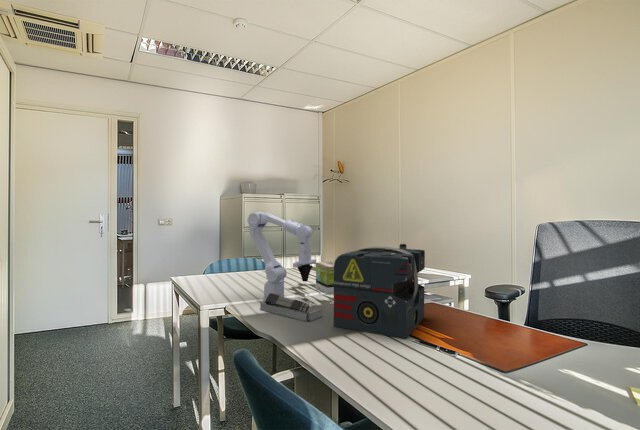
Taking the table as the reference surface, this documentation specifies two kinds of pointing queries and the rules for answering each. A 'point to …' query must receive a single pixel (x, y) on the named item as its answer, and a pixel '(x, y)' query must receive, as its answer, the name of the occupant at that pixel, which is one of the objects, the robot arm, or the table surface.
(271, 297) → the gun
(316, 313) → the slate box
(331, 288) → the tea box
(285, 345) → the table surface
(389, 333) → the power unit
